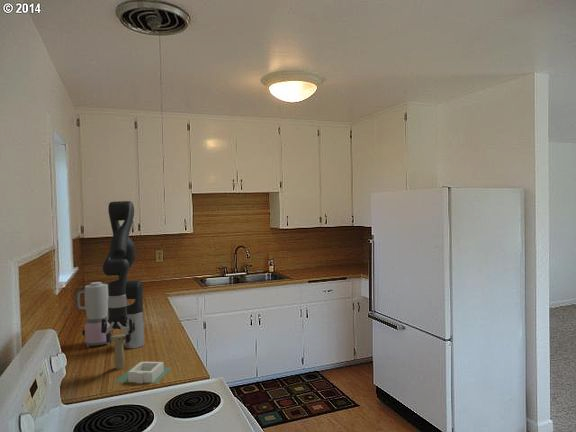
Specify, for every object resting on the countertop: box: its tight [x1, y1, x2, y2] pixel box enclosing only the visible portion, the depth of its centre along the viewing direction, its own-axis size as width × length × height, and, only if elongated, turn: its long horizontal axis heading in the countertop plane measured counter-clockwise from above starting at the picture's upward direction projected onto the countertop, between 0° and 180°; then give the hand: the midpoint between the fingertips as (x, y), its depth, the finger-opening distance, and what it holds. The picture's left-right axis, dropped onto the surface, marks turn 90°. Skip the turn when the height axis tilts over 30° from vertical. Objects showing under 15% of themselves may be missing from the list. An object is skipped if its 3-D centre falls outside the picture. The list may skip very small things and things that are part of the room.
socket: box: [128, 361, 165, 384], centre depth 171 cm, size 12×10×4 cm
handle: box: [111, 333, 126, 371], centre depth 181 cm, size 5×6×15 cm
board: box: [113, 366, 173, 384], centre depth 174 cm, size 16×18×1 cm
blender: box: [75, 281, 112, 348], centre depth 216 cm, size 16×12×32 cm
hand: (118, 342), depth 181 cm, fingers open, 8 cm apart
